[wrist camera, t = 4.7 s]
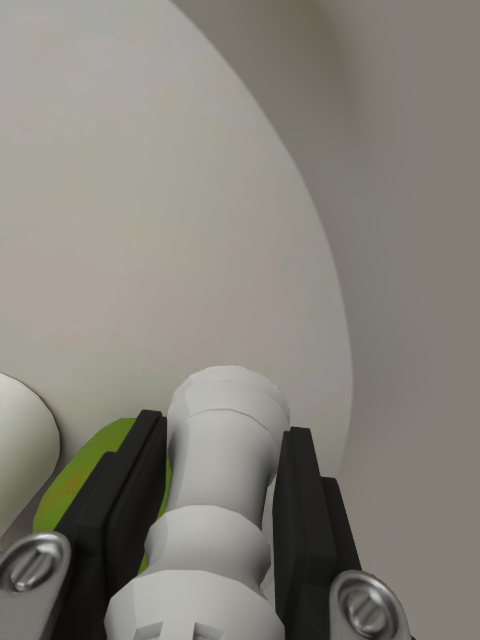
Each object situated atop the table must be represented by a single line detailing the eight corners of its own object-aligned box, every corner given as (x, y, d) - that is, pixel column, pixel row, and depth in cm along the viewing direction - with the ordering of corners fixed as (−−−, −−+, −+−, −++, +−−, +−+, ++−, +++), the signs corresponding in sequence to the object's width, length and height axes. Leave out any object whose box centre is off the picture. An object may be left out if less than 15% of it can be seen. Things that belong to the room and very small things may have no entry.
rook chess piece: (147, 400, 13) (-23, 677, 5) (241, 335, 12) (202, 562, 4) (220, 480, 14) (167, 814, 6) (313, 425, 13) (390, 748, 5)
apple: (228, 421, 28) (209, 542, 17) (203, 520, 31) (173, 673, 21) (96, 389, 28) (-2, 492, 17) (84, 492, 31) (-6, 632, 20)
